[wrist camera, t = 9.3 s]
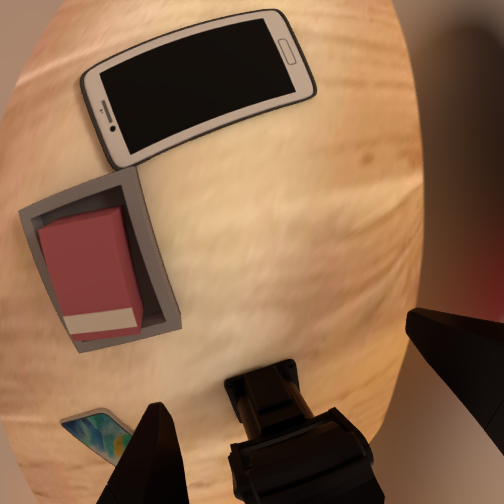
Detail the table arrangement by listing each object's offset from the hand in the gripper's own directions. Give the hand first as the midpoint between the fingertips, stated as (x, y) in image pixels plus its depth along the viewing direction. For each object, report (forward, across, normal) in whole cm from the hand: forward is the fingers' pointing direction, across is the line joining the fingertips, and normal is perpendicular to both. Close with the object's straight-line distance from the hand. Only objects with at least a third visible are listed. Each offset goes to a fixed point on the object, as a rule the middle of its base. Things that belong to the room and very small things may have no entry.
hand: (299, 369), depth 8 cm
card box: (+11, +8, -2) cm, 14 cm away
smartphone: (+13, +17, +19) cm, 28 cm away
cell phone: (+13, -1, -12) cm, 17 cm away
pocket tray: (+12, +8, -2) cm, 15 cm away
